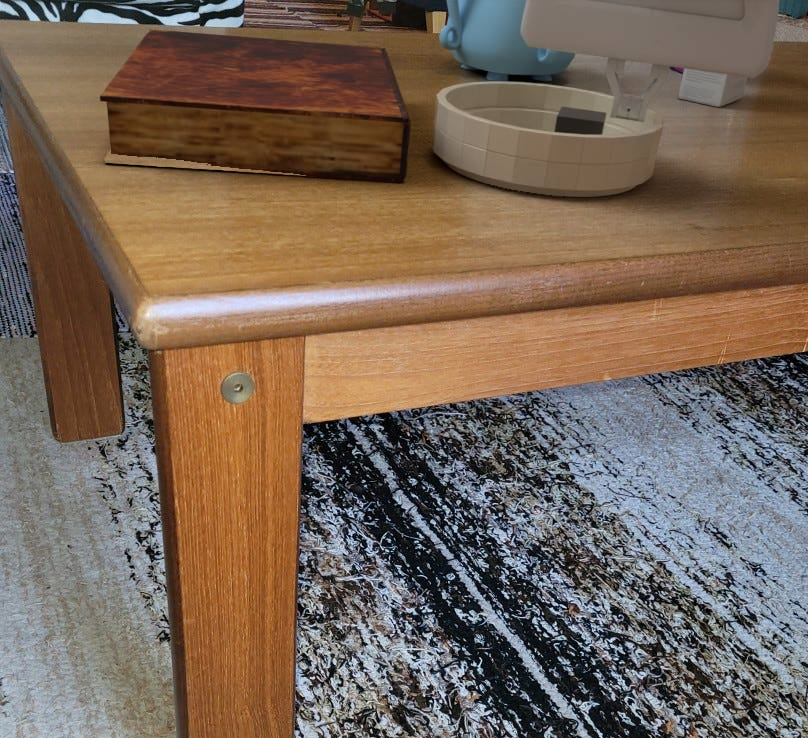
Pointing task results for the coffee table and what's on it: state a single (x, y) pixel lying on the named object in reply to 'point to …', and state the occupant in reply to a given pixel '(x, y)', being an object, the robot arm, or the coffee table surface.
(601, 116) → the block
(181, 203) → the coffee table surface
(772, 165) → the coffee table surface
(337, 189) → the coffee table surface
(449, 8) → the decorative pot
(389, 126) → the book
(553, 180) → the bowl
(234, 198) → the coffee table surface
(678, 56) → the robot arm
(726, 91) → the small box
